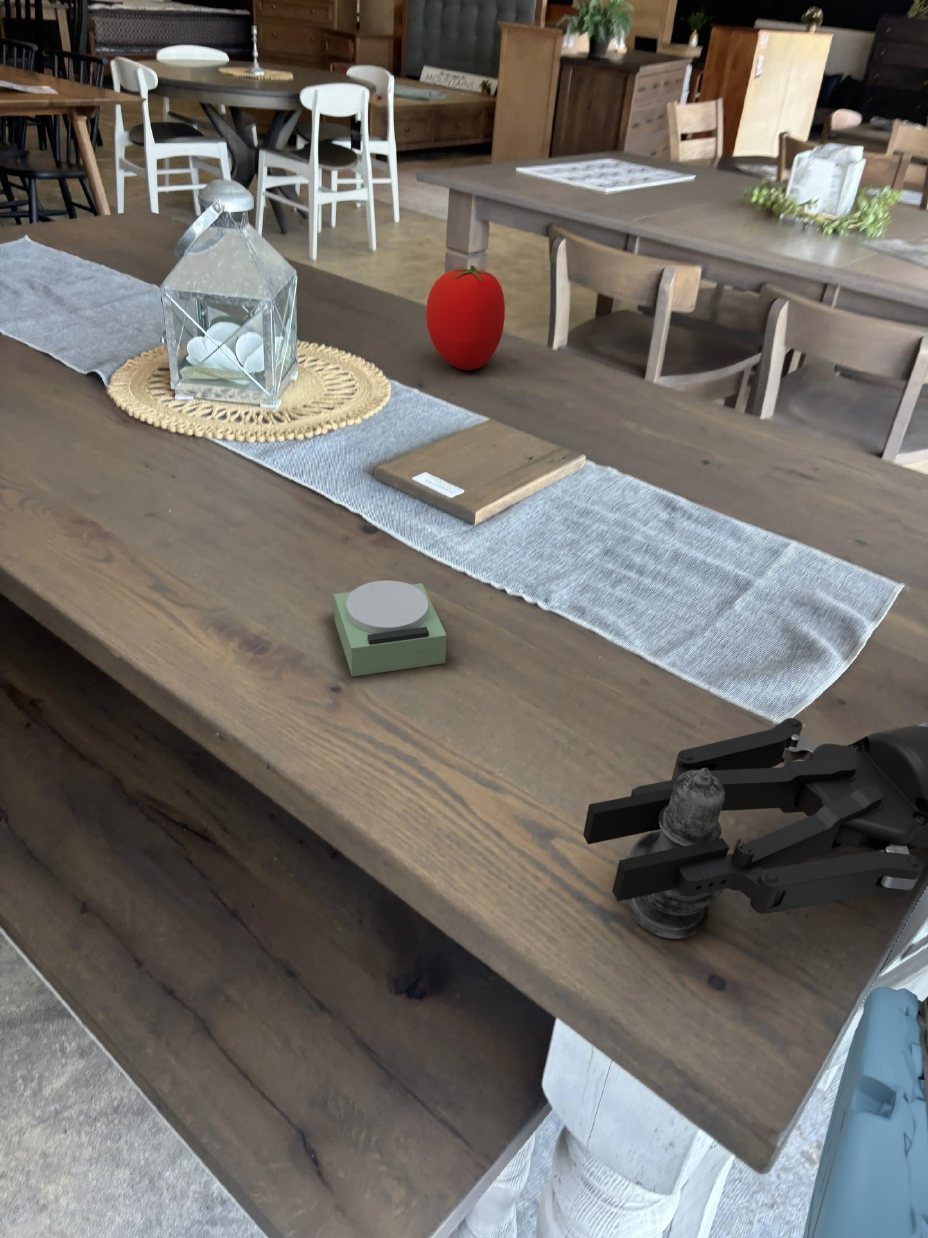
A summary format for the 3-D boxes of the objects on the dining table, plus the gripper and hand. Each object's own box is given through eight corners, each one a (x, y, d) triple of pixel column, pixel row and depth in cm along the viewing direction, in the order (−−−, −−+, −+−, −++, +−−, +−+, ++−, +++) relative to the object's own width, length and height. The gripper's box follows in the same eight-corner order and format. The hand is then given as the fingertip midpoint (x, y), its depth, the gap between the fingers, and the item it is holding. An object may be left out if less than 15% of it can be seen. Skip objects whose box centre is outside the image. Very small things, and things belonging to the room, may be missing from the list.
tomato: (505, 381, 130) (513, 279, 122) (426, 379, 129) (429, 276, 121) (495, 350, 140) (502, 255, 132) (422, 349, 139) (425, 252, 131)
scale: (445, 663, 77) (447, 627, 75) (351, 677, 75) (351, 640, 72) (421, 610, 83) (422, 575, 81) (334, 621, 81) (333, 585, 79)
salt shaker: (705, 957, 55) (752, 821, 48) (610, 923, 56) (643, 787, 49) (720, 884, 59) (765, 750, 52) (632, 854, 61) (664, 720, 54)
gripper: (1007, 923, 54) (656, 1018, 48) (839, 738, 67) (544, 794, 61) (1062, 840, 50) (684, 932, 44) (871, 658, 63) (557, 710, 57)
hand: (603, 852), depth 52 cm, fingers closed on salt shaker, 4 cm apart
